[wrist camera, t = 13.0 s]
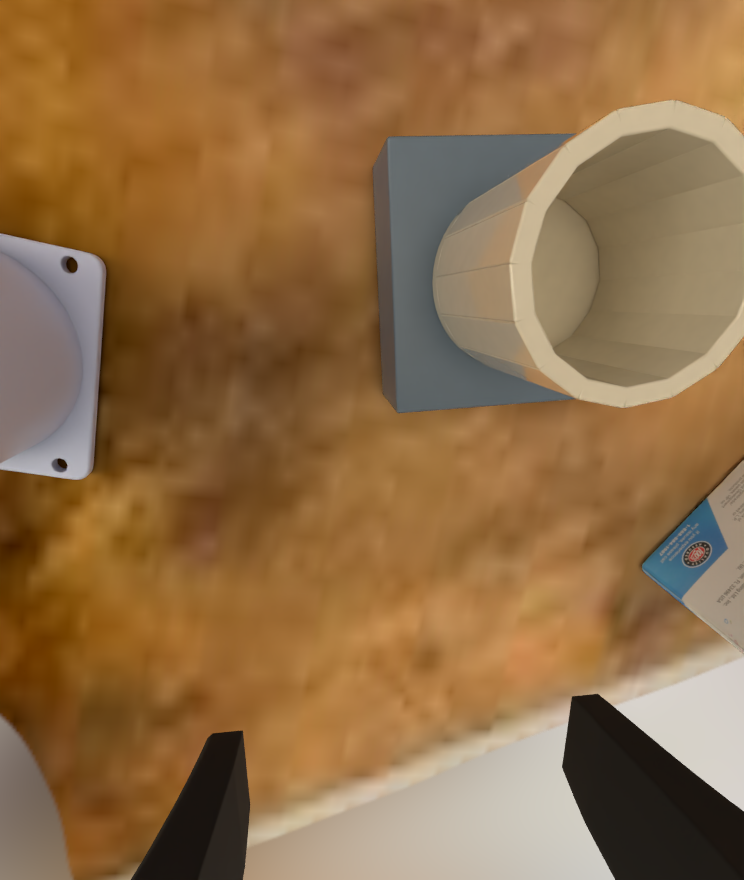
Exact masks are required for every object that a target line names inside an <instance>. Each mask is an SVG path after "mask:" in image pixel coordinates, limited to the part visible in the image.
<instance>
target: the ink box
mask: <svg viewBox="0 0 744 880" xmlns="http://www.w3.org/2000/svg"><path fill="white" fill-rule="evenodd" d="M642 570H643V572H644V573H645V574H647V575H648V576H649V577H650V578H651V579H652V580H654V581H655V582H656V583H657V584H658V585H660V586H661V587H662V588H663V589H664V590H666V591H667V592H668V593H669V594H671V595H672V596H673V597H674V598H675V599H677V600H678V601H679V602H680V603H681V604H683V605H684V606H685V607H686V608H688V609H689V610H690V611H691V612H693V613H694V614H695V615H696V616H697V617H699V618H700V619H701V620H702V621H704V622H705V623H706V624H707V625H709V626H710V627H711V628H712V629H713V630H715V631H716V632H717V633H718V634H720V635H721V636H722V637H723V638H724V639H726V640H727V641H728V642H729V643H731V644H732V645H733V646H734V647H735V648H737V649H738V650H739V651H740V652H742V653H743V654H744V460H743V461H742V462H741V463H740V464H739V465H738V466H737V467H736V468H735V469H734V470H733V471H732V472H731V473H730V474H729V475H728V476H727V477H726V478H725V479H724V480H723V482H722V483H721V484H720V485H718V487H717V488H716V489H715V490H714V491H713V492H712V493H711V494H710V495H709V496H708V497H707V498H706V499H705V500H704V501H703V502H702V503H701V504H700V505H699V506H698V507H697V508H696V509H695V510H694V511H693V512H692V513H691V514H690V515H689V516H688V517H687V518H686V520H685V521H684V522H683V523H682V524H681V525H680V526H679V527H678V528H677V529H676V530H675V531H674V532H673V533H672V534H671V535H670V536H669V537H668V538H667V539H666V540H665V541H664V542H663V543H662V544H661V545H660V546H659V547H658V549H656V550H655V551H654V552H653V553H652V554H651V555H650V556H649V558H648V559H647V560H646V561H645V562H644V563H643V565H642Z"/></svg>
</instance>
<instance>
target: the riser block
mask: <svg viewBox="0 0 744 880" xmlns="http://www.w3.org/2000/svg"><path fill="white" fill-rule="evenodd" d="M574 135H575V134H517V135H455V136H393V137H388V138H387V139H386V141H385V143H384V145H383V148H382V150H381V152H380V154H379V156H378V158H377V160H376V162H375V164H374V166H373V187H374V210H375V232H376V254H377V277H378V299H379V322H380V344H381V366H382V389H383V395H384V396H385V398H386V399H387V400H388V402H389V403H390V404H391V405H392V407H393V408H394V409H395V410H396V412H397V413H407V412H420V411H433V410H445V409H458V408H470V407H483V406H495V405H508V404H520V403H533V402H545V401H558V400H570V399H576V398H573V397H570V396H568V395H565V394H562V393H559V392H557V391H554V390H551V389H548V388H546V387H543V386H540V385H537V384H535V383H532V382H529V381H527V380H524V379H521V378H518V377H516V376H513V375H510V374H507V373H505V372H502V371H499V370H496V369H494V368H491V367H488V366H486V365H484V364H482V363H481V362H479V361H477V360H475V359H473V358H472V357H470V356H469V355H467V354H466V353H464V352H463V351H462V350H461V349H460V348H459V347H458V346H457V345H456V344H455V343H454V342H453V341H452V340H451V339H450V337H449V336H448V334H447V333H446V331H445V330H444V328H443V326H442V323H441V321H440V319H439V317H438V314H437V311H436V307H435V302H434V297H433V286H432V280H433V268H434V262H435V257H436V254H437V251H438V247H439V245H440V242H441V240H442V238H443V235H444V234H445V232H446V230H447V228H448V227H449V225H450V223H451V222H452V221H453V219H454V218H455V217H456V215H457V214H458V213H459V212H460V211H461V210H462V209H463V208H464V207H465V206H466V205H467V204H468V203H469V202H470V201H472V200H473V199H474V198H476V197H477V196H479V195H480V194H482V193H483V192H485V191H486V190H488V189H489V188H491V187H492V186H494V185H495V184H497V183H498V182H500V181H501V180H503V179H505V178H506V177H508V176H509V175H511V174H513V173H514V172H516V171H517V170H519V169H521V168H522V167H524V166H525V165H527V164H529V163H530V162H532V161H533V160H535V159H537V158H538V157H540V156H542V155H543V154H545V153H546V152H548V151H550V150H551V149H553V148H554V147H556V146H558V145H559V144H561V143H562V142H564V141H566V140H567V139H569V138H570V137H572V136H574Z"/></svg>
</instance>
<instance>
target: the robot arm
mask: <svg viewBox="0 0 744 880" xmlns="http://www.w3.org/2000/svg"><path fill="white" fill-rule="evenodd" d="M71 257H73V258H74V259H75V260H76V261H77V264H78V268H77V271H76V272H74V273H71V272H70V271H69V270H68V269H67V265H66V263H67V260H68V259H69V258H71ZM105 286H106V266H105V264H104V262H103V261H102V260H101V259H100V258H99V257H98V256H96V255H94V254H92V253H88V252H83V251H78V250H74V249H69V248H65V247H60V246H56V245H51V244H46V243H42V242H37V241H33V240H28V239H24V238H19V237H15V236H10V235H5V234H1V233H0V469H2V470H9V471H16V472H23V473H30V474H37V475H45V476H52V477H59V478H66V479H73V480H80V479H83V478H85V477H86V476H88V475H89V474H90V473H91V472H92V470H93V466H94V451H95V436H96V421H97V406H98V391H99V376H100V361H101V346H102V331H103V316H104V301H105ZM58 458H60V459H63V460H65V461H66V462H67V465H68V467H67V468H62V467H60V466H59V465H58V462H57V460H58ZM562 768H563V771H564V773H565V775H566V778H567V781H568V783H569V786H570V788H571V791H572V793H573V796H574V798H575V800H576V803H577V805H578V807H579V809H580V812H581V814H582V817H583V819H584V821H585V823H586V825H587V827H588V829H589V831H590V833H591V835H592V837H593V839H594V841H595V842H596V844H597V846H598V848H599V850H600V852H601V854H602V856H603V857H604V859H605V861H606V863H607V865H608V867H609V869H610V871H611V873H612V874H613V876H614V878H615V880H744V811H742V810H741V809H740V808H738V807H737V806H736V805H734V804H733V803H732V802H730V801H729V800H728V799H726V798H725V797H724V796H722V795H721V794H720V793H719V792H717V791H716V790H715V789H714V788H712V787H711V786H710V785H708V784H707V783H706V782H705V781H703V780H702V779H701V778H699V777H698V776H697V775H696V774H694V773H693V772H692V771H691V770H689V769H688V768H687V767H686V766H685V765H683V764H682V763H681V762H680V761H678V760H677V759H676V758H675V757H673V756H672V755H671V754H670V753H668V752H667V751H666V750H665V749H664V748H662V747H661V746H660V745H659V744H658V743H656V742H655V741H654V740H653V739H652V738H650V737H649V736H648V735H647V734H646V733H644V732H643V731H642V730H641V729H640V728H638V727H637V726H636V725H635V724H634V723H632V722H631V721H630V720H629V719H628V718H626V717H625V716H624V715H623V714H622V713H620V712H619V711H618V710H617V709H616V708H614V707H613V706H612V705H611V704H610V703H608V702H607V701H606V700H605V699H603V698H602V697H601V696H600V695H598V694H593V695H583V696H573V697H572V701H571V708H570V715H569V722H568V730H567V737H566V744H565V751H564V758H563V765H562ZM249 812H250V799H249V789H248V779H247V769H246V759H245V749H244V738H243V731H233V732H224V733H214V734H212V735H211V736H210V737H209V738H208V739H207V741H206V743H205V745H204V747H203V749H202V752H201V754H200V756H199V758H198V760H197V762H196V764H195V766H194V768H193V770H192V772H191V774H190V776H189V778H188V780H187V782H186V784H185V786H184V788H183V790H182V792H181V793H180V795H179V797H178V799H177V801H176V803H175V805H174V807H173V809H172V810H171V812H170V814H169V816H168V817H167V819H166V821H165V823H164V824H163V826H162V828H161V830H160V831H159V833H158V835H157V837H156V839H155V840H154V842H153V844H152V846H151V847H150V849H149V851H148V852H147V854H146V856H145V858H144V859H143V861H142V863H141V864H140V866H139V867H138V869H137V871H136V872H135V874H134V875H133V877H132V879H131V880H243V874H244V869H245V858H246V848H247V837H248V825H249Z"/></svg>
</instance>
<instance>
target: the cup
mask: <svg viewBox="0 0 744 880" xmlns="http://www.w3.org/2000/svg"><path fill="white" fill-rule="evenodd" d="M432 286H433V297H434V302H435V307H436V311H437V314H438V317H439V319H440V321H441V323H442V326H443V328H444V330H445V331H446V333H447V334H448V336H449V337H450V339H451V340H452V341H453V342H454V343H455V344H456V345H457V346H458V347H459V348H460V349H461V350H462V351H463V352H464V353H466V354H467V355H469V356H470V357H472V358H473V359H475V360H477V361H479V362H481V363H482V364H484V365H486V366H488V367H491V368H494V369H496V370H499V371H502V372H505V373H507V374H510V375H513V376H516V377H518V378H521V379H524V380H527V381H529V382H532V383H535V384H537V385H540V386H543V387H546V388H548V389H551V390H554V391H557V392H559V393H562V394H565V395H568V396H570V397H573V398H576V399H578V400H583V401H588V402H593V403H598V404H603V405H608V406H613V407H618V408H628V407H632V406H637V405H642V404H646V403H651V402H655V401H660V400H665V399H669V398H671V397H674V396H676V395H677V394H679V393H681V392H682V391H684V390H685V389H687V388H688V387H690V386H691V385H693V384H695V383H696V382H698V381H699V380H701V379H702V378H704V377H705V376H707V375H709V374H710V373H712V372H713V371H715V370H716V368H718V367H719V366H720V365H721V364H722V363H723V361H724V360H725V359H726V358H727V357H728V355H729V354H730V353H731V352H732V350H733V349H734V348H735V347H736V345H737V344H738V343H739V342H740V341H741V339H742V338H743V337H744V136H743V135H742V133H741V132H740V131H739V130H738V129H737V128H736V127H735V126H734V125H733V123H732V122H731V121H730V120H729V119H727V118H725V116H722V115H719V114H716V113H713V112H711V111H708V110H705V109H702V108H699V107H696V106H693V105H690V104H687V103H684V102H681V101H678V100H666V101H660V102H654V103H649V104H643V105H637V106H631V107H625V108H619V109H617V110H616V111H612V112H611V113H609V114H607V115H606V116H604V117H603V118H601V119H599V120H598V121H596V122H595V123H593V124H591V125H590V126H588V127H587V128H585V129H583V130H582V131H580V132H579V133H577V134H575V135H574V136H572V137H570V138H569V139H567V140H566V141H564V142H562V143H561V144H559V145H558V146H556V147H554V148H553V149H551V150H550V151H548V152H546V153H545V154H543V155H542V156H540V157H538V158H537V159H535V160H533V161H532V162H530V163H529V164H527V165H525V166H524V167H522V168H521V169H519V170H517V171H516V172H514V173H513V174H511V175H509V176H508V177H506V178H505V179H503V180H501V181H500V182H498V183H497V184H495V185H494V186H492V187H491V188H489V189H488V190H486V191H485V192H483V193H482V194H480V195H479V196H477V197H476V198H474V199H473V200H472V201H470V202H469V203H468V204H467V205H466V206H465V207H464V208H463V209H462V210H461V211H460V212H459V213H458V214H457V215H456V217H455V218H454V219H453V221H452V222H451V223H450V225H449V227H448V228H447V230H446V232H445V234H444V235H443V238H442V240H441V242H440V245H439V247H438V251H437V254H436V257H435V262H434V268H433V280H432Z"/></svg>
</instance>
